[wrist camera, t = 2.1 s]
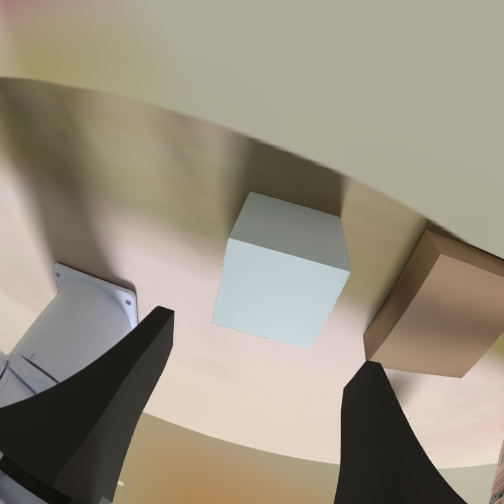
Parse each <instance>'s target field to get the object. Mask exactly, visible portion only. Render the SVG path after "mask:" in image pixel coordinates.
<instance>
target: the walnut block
mask: <svg viewBox="0 0 504 504" xmlns="http://www.w3.org/2000/svg"><path fill="white" fill-rule="evenodd" d="M474 247H476V246H474ZM476 248H477V249H479V250H477V249H475V248H473V247H470V246H468V245H465V244H463V243H461V242H458V241H456V240H453V239H451V238H448V237H446V236H443V235H440V234H438V233H435V232H433V231H430V230H427V229H425V231H424V233H423V235H422V237H421V239H420V241H419V242H418V244H417V246H416V248H415V250H414V252H413V254H412V256H411V258H410V259H409V261H408V263H407V265H406V267H405V269H404V270H403V272H402V274H401V276H400V277H399V279H398V281H397V283H396V284H395V286H394V288H393V289H392V291H391V293H390V294H389V296H388V298H387V299H386V301H385V303H384V304H383V306H382V308H381V309H380V311H379V312H378V314H377V316H376V317H375V319H374V320H373V322H372V323H371V325H370V326H369V328H368V329H367V331H366V332H365V334H364V335H363V340H364V348H365V357H366V360H368V361H374V362H379V363H381V365H382V367H383V368H389V369H395V370H402V371H409V372H416V373H423V374H431V375H439V376H448V377H457V378H462V377H463V376H464V375H465V374H466V373H467V372H468V371H469V370H470V369H471V368H472V367H473V366H474V365H475V364H476V363H477V361H478V360H479V359H480V358H481V357H482V356H483V355H484V354H485V353H486V352H487V350H488V349H489V348H490V347H491V346H492V345H493V344H494V342H495V341H496V340H497V339H498V338H499V336H500V335H501V334H502V333H503V332H504V259H503V258H501V257H498V256H496V255H494V254H492V253H489V252H487V251H485V250H483V249H480V248H478V247H476ZM480 250H481V251H480ZM482 251H483V252H482Z"/></svg>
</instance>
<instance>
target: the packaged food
mask: <svg viewBox="0 0 504 504" xmlns="http://www.w3.org/2000/svg"><path fill="white" fill-rule="evenodd" d="M489 504H504V441H503V444H502V447H501V451H500V455H499V460H498V464H497V469H496V473H495V478H494V482H493V487H492V492H491V497H490V501H489Z"/></svg>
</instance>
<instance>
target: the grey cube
mask: <svg viewBox="0 0 504 504" xmlns="http://www.w3.org/2000/svg"><path fill="white" fill-rule="evenodd" d="M350 273H351V270H350V264H349V258H348V253H347V247H346V242H345V236H344V231H343V226H342V221H341V217H337V216H334V215H331V214H328V213H324V212H321V211H318V210H314V209H311V208H308V207H304V206H301V205H297V204H294V203H290V202H287V201H283V200H280V199H276V198H273V197H269V196H265V195H262V194H258V193H254V192H251V191H250V193H249V195H248V197H247V199H246V201H245V203H244V205H243V208H242V210H241V212H240V214H239V216H238V218H237V221H236V223H235V225H234V227H233V229H232V231H231V234H230V236H229V238H228V243H227V248H226V253H225V258H224V263H223V268H222V273H221V278H220V283H219V288H218V293H217V298H216V303H215V308H214V313H213V319H212V324H215V325H219V326H222V327H226V328H229V329H233V330H236V331H240V332H243V333H247V334H251V335H255V336H258V337H262V338H266V339H270V340H274V341H278V342H282V343H286V344H290V345H294V346H299V347H303V348H307V349H310V348H311V346H312V344H313V342H314V341H315V339H316V337H317V335H318V333H319V332H320V330H321V328H322V326H323V324H324V323H325V321H326V319H327V317H328V315H329V313H330V311H331V310H332V308H333V306H334V304H335V302H336V300H337V298H338V296H339V294H340V292H341V290H342V289H343V287H344V285H345V283H346V281H347V279H348V277H349V275H350Z"/></svg>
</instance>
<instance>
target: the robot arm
mask: <svg viewBox="0 0 504 504" xmlns="http://www.w3.org/2000/svg"><path fill="white" fill-rule="evenodd" d="M53 270H54V274H55V279H56V283H57V287H58V291H59V293H58V294H57V295H56V296H55V297H54V299H53V300H52V301H51V302H50V303H49V304H48V306H47V307H46V308H45V309H44V310H43V312H42V313H41V314H40V315H39V316H38V318H37V319H36V320H35V321H34V323H33V324H32V325H31V326H30V328H29V329H28V330H27V331H26V333H25V334H24V335H23V337H22V338H21V339H20V341H19V342H18V343H17V344H16V346H15V347H14V348H13V350H12V351H11V353H10V354H7V355H5V354H4V353H3V352H2V351H0V504H99V503H100V504H110V503H112V502H113V498H114V494H115V490H116V486H117V483H118V479H119V476H120V472H121V469H122V466H123V462H124V459H125V456H126V453H127V450H128V447H129V444H130V441H131V438H132V436H133V433H134V430H135V427H136V425H137V422H138V420H139V418H140V415H141V413H142V411H143V409H144V407H145V405H146V403H147V402H148V400H149V398H150V396H151V394H152V392H153V390H154V388H155V386H156V384H157V382H158V380H159V378H160V376H161V374H162V372H163V370H164V368H165V365H166V363H167V360H168V357H169V355H170V352H171V349H172V346H173V331H174V312H175V311H173V310H170V309H167V308H164V307H161V306H157V307H155V308H154V309H153V310H152V311H151V312H150V313H149V314H148V315H147V316H146V317H145V318H144V319H143V320H142V321H141V322H140V323H139V324H138V322H137V307H136V296H135V294H134V292H132V291H131V290H128V289H125V288H123V287H120V286H117V285H114V284H111V283H109V282H106V281H103V280H100V279H98V278H95V277H92V276H90V275H87V274H85V273H82V272H79V271H77V270H74V269H72V268H69V267H67V266H64V265H62V264H59V263H56V264H55V265H54V266H53ZM334 504H467V503H466V502H465V501H464V500H463V499H462V498H461V497H460V496H459V495H458V494H457V493H456V492H455V491H454V490H453V489H452V488H451V487H450V486H449V484H448V483H447V482H446V481H445V479H444V478H443V477H442V476H441V475H440V474H439V472H438V470H437V469H436V468H435V466H434V465H433V464H432V462H431V461H430V459H429V458H428V456H427V455H426V453H425V451H424V450H423V448H422V446H421V445H420V443H419V441H418V440H417V438H416V436H415V434H414V432H413V430H412V429H411V427H410V425H409V423H408V421H407V419H406V417H405V415H404V413H403V411H402V408H401V406H400V404H399V402H398V400H397V398H396V396H395V393H394V391H393V389H392V387H391V384H390V382H389V380H388V378H387V376H386V373H385V371H384V369H383V367H382V365H381V363H379V362H374V361H368V360H366V362H365V363H364V364H363V365H362V367H361V368H360V369H359V370H358V372H357V373H356V374H355V375H354V377H353V378H352V379H351V380H350V381H349V383H348V384H347V385H346V386H345V387H344V390H343V398H342V406H341V461H340V472H339V478H338V485H337V490H336V495H335V500H334Z"/></svg>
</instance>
